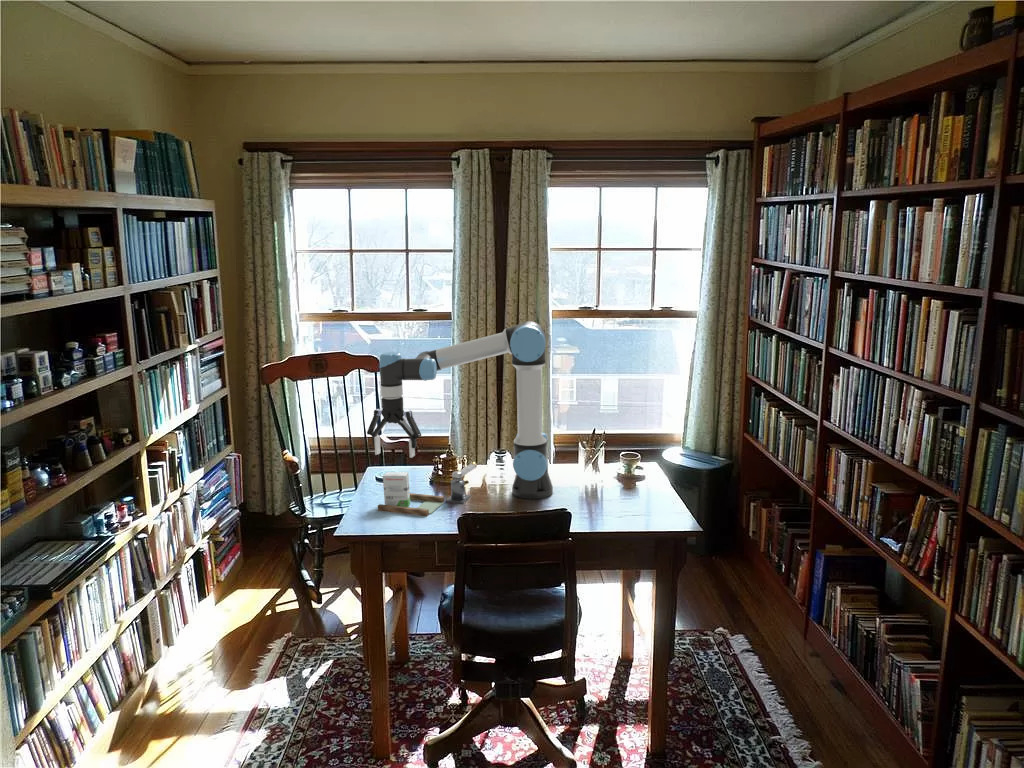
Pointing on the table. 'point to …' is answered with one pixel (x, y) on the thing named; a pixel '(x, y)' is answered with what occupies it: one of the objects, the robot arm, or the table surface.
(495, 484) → the table surface
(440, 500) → the rails
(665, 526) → the table surface
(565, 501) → the table surface
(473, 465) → the crank
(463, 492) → the winch drum
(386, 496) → the ink box
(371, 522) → the table surface
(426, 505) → the front pad
